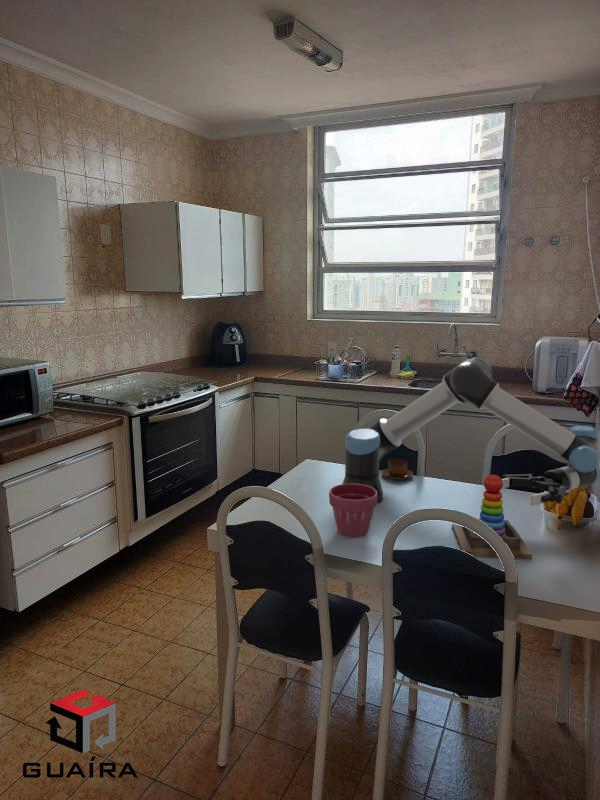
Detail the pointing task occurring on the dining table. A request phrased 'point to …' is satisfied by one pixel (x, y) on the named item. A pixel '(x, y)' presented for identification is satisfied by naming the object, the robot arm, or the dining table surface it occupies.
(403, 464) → the cup and saucer
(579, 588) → the dining table surface
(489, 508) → the stacking toy
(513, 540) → the wooden divided tray
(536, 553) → the dining table surface
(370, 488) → the plant pot
